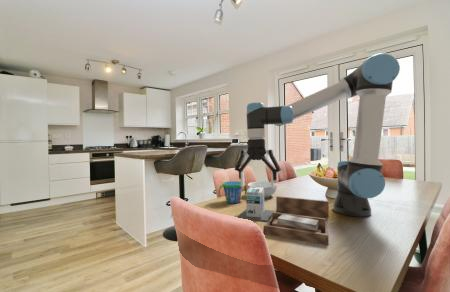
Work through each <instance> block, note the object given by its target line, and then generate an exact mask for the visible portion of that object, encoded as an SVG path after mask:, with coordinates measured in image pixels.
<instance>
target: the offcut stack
mask: <svg viewBox="0 0 450 292" xmlns="http://www.w3.org/2000/svg"><path fill="white" fill-rule="evenodd" d="M318 225H319V220H314V219H308V218H303V217H297V216H291V215H285V214H282V215H281V216H279V217H278V218H276V219H275V220H274V221H273V223H272V226H276V227H283V228H290V229H296V230H303V231H310V232H317V233H321V230H318Z"/></svg>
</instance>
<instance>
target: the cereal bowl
mask: <svg viewBox="0 0 450 292" xmlns="http://www.w3.org/2000/svg"><path fill="white" fill-rule="evenodd" d="M274 185H275V187H274V188H273V189H272V188H271V181H252V182H248V183H247V190H248V189H249V188H250V187H261V188H264V199H265V198H269V197H270V196H272V195H274V194H275V193H276V191H277V189H278V188H277V187H278V185H277V183H276V182H274Z"/></svg>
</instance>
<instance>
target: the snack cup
mask: <svg viewBox="0 0 450 292" xmlns="http://www.w3.org/2000/svg"><path fill="white" fill-rule="evenodd" d="M222 188H223V192H224V196H225V201H226V203H228V204H239V203H240V202H241V196H242V189H243V187H241V181H238V180H237V181H236V180H235V181H234V180H233V181H230V180H229V181H224V182H223V183H222V184H220V186H219V188H218V191H217V194H218V197H219V198H221V189H222ZM247 190H248V186H247V185H246V184H245V186H244V195H246V192H247Z"/></svg>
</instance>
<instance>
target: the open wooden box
mask: <svg viewBox="0 0 450 292" xmlns="http://www.w3.org/2000/svg"><path fill="white" fill-rule="evenodd" d="M329 201H330V200H323V199H321V200H320V199H310V198H309V199H308V198H300V197H299V198H298V197H290V196H289V197H287V196H280V195H279V196H278V195H277V196H276V201H275V203H276V205H275V206H276V209H275V212H272V216H271V218H270V219H269V221H268V222H266V224H263V235H265V236H267V235H268V236H273V237H280V238H286V239H289V240H290V239H292V240H298V241H302V242H303V241H305V242H309V243H315V244H321V245H326V244H327V245H329V243H330V242H329V241H330V240H329V239H330V238H329V236H330V234H329V221H330V220H329V219H330V218H329V211H330V210H329V209H330V207H329V204H330V202H329ZM282 214H285V215H291V216H297V217H303V218H308V219H314V220H319V225H318V230H321V233H317V232H310V231H303V230H296V229H290V228H283V227H276V226H272V223H273V221H274V220H275V219H276V218H278V217H279V216H281V215H282ZM327 245H326V246H327Z"/></svg>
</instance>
